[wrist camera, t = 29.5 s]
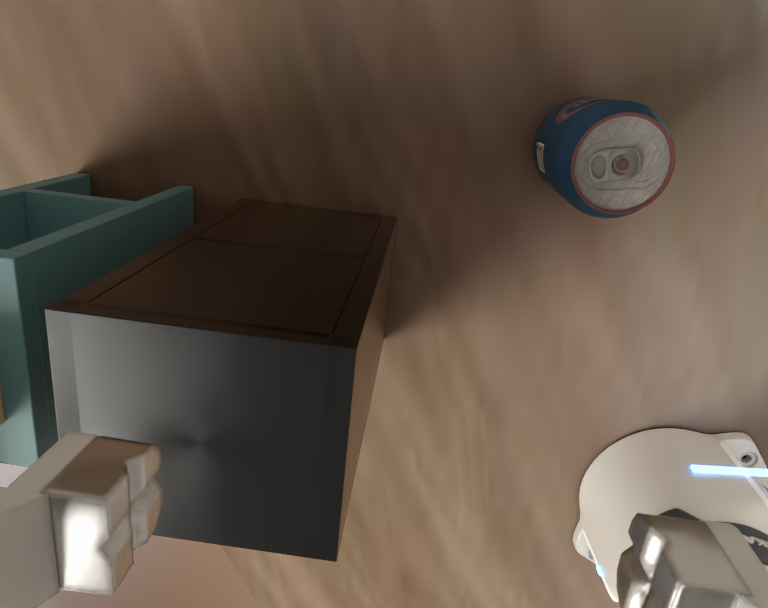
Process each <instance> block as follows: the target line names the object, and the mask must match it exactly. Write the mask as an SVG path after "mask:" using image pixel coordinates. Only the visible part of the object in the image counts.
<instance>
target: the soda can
mask: <svg viewBox="0 0 768 608" xmlns="http://www.w3.org/2000/svg"><path fill="white" fill-rule="evenodd" d="M533 157H534V162H535V166H536V168H537V171H538V173H539V174H540V176H541V177H542V179H543V180H544V181H545V182H546V183H547V184H548V185H549V186H550V187H552V188H553V189H554V190H555V191H556V192H558V193H559V194H560V195H561V196H562V197H563V198H565V199H566V200H567V201H568V202H569V203H570V204H572V205H573V206H574V207H575V208H577V209H578V210H580V211H582V212H583V213H586V214H588V215H591V216H594V217H599V218H617V217H622V216H626V215H629V214H632V213H634V212H636V211H638V210H640V209H642V208H643V207H645V206H647V205H648V204H650V203H651V202H652V201H654V200H655V199H656V198H657V197H658V196H659V195H660V194H661V193H662V192H663V190H664V189H665V187H666V186H667V184H668V182H669V180H670V178H671V176H672V173H673V170H674V165H675V147H674V141H673V137H672V134H671V131H670V129H669V127H668V125H667V124H666V122H665V121H664V120H663V118H662V117H661V116H660V115H659V114H658V113H656V112H655V111H654V110H652V109H651V108H649V107H647V106H645V105H643V104H640V103H637V102H632V101H623V100H609V99H595V98H580V99H574V100H571V101H568V102H566V103H564V104H562V105H560V106H558V107H557V108H555V109H554V110H553V111H552V112H551V113H550V114H549V115H548V116H547V117H546V118H545V119H544V120H543V122H542V123H541V125H540V127H539V129H538V131H537V133H536V136H535V140H534V145H533Z"/></svg>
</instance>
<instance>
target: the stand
mask: <svg viewBox="0 0 768 608" xmlns="http://www.w3.org/2000/svg"><path fill="white" fill-rule="evenodd" d="M192 226H194V198H193V187H191V186H183V185H179V186H176V187H174V188H171V189H168V190H166V191H163V192H160V193H157V194H155V195H152V196H149V197H147V198H144V199H141V200H139V201H136V202H135V201H129V200H121V199H113V198H105V197H96V196H91V182H90V174H83V173H74V174H69V175H65V176H61V177H56V178H52V179H48V180H43V181H39V182H35V183H30V184H26V185H22V186H18V187H13V188H9V189H5V190H0V388H1V395H2V402H3V408H4V415H5V422H4V423H3V424H1V425H0V463H5V464H12V465H20V466H27V467H30V466H31V465H32V464H33V463H34V462H35V461H37V460H38V459H39V458H40V457H41V456H42V455H43V454H44V453H45V452H46V451H47V450H49V449H50V448H51V447H52V446H53V445H54V444H55V443H56V442H57V441H58V431H57V422H56V412H55V403H54V394H53V384H52V375H51V366H50V356H49V347H48V338H47V329H46V319H45V310H44V309H45V308H46V307H48V306H50V305H52V304H53V303H55V302H57V301H59V300H61V299H63V298H65V297H67V296H68V295H70V294H72V293H74V292H76V291H77V290H79V289H81V288H83V287H85V286H86V285H88V284H90V283H92V282H93V281H95V280H97V279H99V278H101V277H102V276H104V275H106V274H108V273H110V272H111V271H113V270H115V269H117V268H118V267H120V266H122V265H124V264H126V263H127V262H129V261H131V260H133V259H135V258H136V257H138V256H140V255H142V254H144V253H145V252H147V251H149V250H151V249H152V248H154V247H156V246H158V245H160V244H161V243H163V242H165V241H167V240H169V239H170V238H172V237H174V236H176V235H177V234H179V233H181V232H183V231H185V230H186V229H188V228H190V227H192Z"/></svg>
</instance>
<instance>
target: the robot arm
mask: <svg viewBox="0 0 768 608" xmlns="http://www.w3.org/2000/svg"><path fill="white" fill-rule="evenodd" d="M745 455H747V456H746V457H745V458H742V457H743V456H745ZM161 466H162V464H161V451H160V448H159V447H158V446H157V445H156V444H150V443H144V442H138V441H132V440H126V439H119V438H113V437H107V436H99V435H94V434H87V433H80V432H71V433H67V434H65V435H64V436H63V437H62V438H61V439H60V440H58V441H57V442H56V443H55V444H54V445H53V446H52V447H51V448H50V449H49V450H47V451H46V452H45V453H44V454H43V455H42V456H41V457H40V458H39V459H38V460H37V461H35V462H34V463H33V464H32V465H31V466H30V467H29V468H28V469H27V470H26V471H25V472H24V473H22V474H21V475H20V476H19V477H18V478H17V479H16V480H15V481H14V482H13V483H11V484H10V485H9V486H8V487H7V488H2V487H0V608H36V607H38V606H39V605H41V604H42V603H44V602H45V601H47V600H48V599H50V598H51V597H53V596H54V595H56V594H57V593H59V589H64V590H72V591H81V592H89V593H97V594H105V595H113V594H114V593H115V591H116V590H117V588H118V587H119V585H120V584H121V582H122V580H123V579H124V577H125V576H126V574H127V573H128V571H129V570H130V568H131V567H132V565H133V564H134V561H133V550H135V549H137V548H139V547H140V546H142V545H144V544H146V543H147V542H148V540H149V538H150V537H151V535H152V533H153V532H154V530H155V527H156V525H157V522H158V519H159V516H160V513H161V507H162V500H163V496H162V486H161V485H160V484H159V482H158V481H157V480H156V478H155V477H154V476H155V474H156V473H157V471H158V470H159V469H160V467H161ZM579 506H580V520H579V522H578V525H577V527H576V529H575V532H574V535H573V544H574V546H575V548H576V550H577V552H578V553H580V554H581V555H582V556H584V557H585V558H587V559H589V560H590V561H592V562H593V563H595V564H596V565H597V566H596V569H597V572H598V574H599V575H600V576H601V577H602V579H603V581H604V584H605V586H606V588H607V591H608V593H609V595H610V597H611V598H612V599H613V601H615V602H619V603H620V606H621V608H768V468H767V466H766V464H765V462H764V460H763V459H762V457H761V455H760V453H759V451H758V449H757V447H756V445H755V444H754V442H753V440H752V439H751V438H750V436H748V435H747V434H745V433H740V432H731V433H720V434H713V435H711V434H703V433H699V432H694V431H690V430H685V429H677V428H659V429H651V430H646V431H642V432H638V433H635V434H632V435H630V436H627V437H625V438H623V439H621V440H619V441H617V442H615V443H614V444H612V445H611V446H609V447H608V448H607V449H605V450H604V451H603V452H602V453H601V454H600V455H599V456H598V457H597V458H596V459H595V460H594V461H593V462H592V464H591V465H590V466H589V468H588V469H587V471H586V473H585V475H584V477H583V480H582V483H581V486H580V492H579Z"/></svg>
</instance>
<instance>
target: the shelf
mask: <svg viewBox="0 0 768 608" xmlns="http://www.w3.org/2000/svg"><path fill="white" fill-rule="evenodd" d="M396 225H397V217H391V216H382V215H374V214H366V213H357V212H349V211H341V210H332V209H324V208H316V207H307V206H299V205H291V204H282V203H274V202H266V201H257V200H256V201H255V200H249V199H240V200H238V201H236V202H235V203H233V204H231V205H229V206H227V207H226V208H224V209H222V210H220V211H219V212H217V213H215V214H213V215H211V216H210V217H208V218H206V219H204V220H202V221H201V222H199V223H197V224H195V225H194V226H192V227H190V228H188V229H186V230H185V231H183V232H181V233H179V234H177V235H176V236H174V237H172V238H170V239H169V240H167V241H165V242H163V243H161V244H160V245H158V246H156V247H154V248H152V249H151V250H149V251H147V252H145V253H144V254H142V255H140V256H138V257H136V258H135V259H133V260H131V261H129V262H127V263H126V264H124V265H122V266H120V267H118V268H117V269H115V270H113V271H111V272H110V273H108V274H106V275H104V276H102V277H101V278H99V279H97V280H95V281H93V282H92V283H90V284H88V285H86V286H85V287H83V288H81V289H79V290H77V291H76V292H74V293H72V294H70V295H68V296H67V297H65V298H63V299H61V300H59V301H57V302H55V303H53V304H52V305H50V306H48V307H46V308H45V309H44V310H45V319H46V329H47V338H48V347H49V356H50V366H51V375H52V384H53V394H54V403H55V412H56V422H57V431H58V440H60V439H61V438H62V437H63V436H64V435H65V434H67V433H71V432H80V433H87V434H94V435H99V436H107V437H113V438H119V439H126V440H132V441H138V442H144V443H150V444H156V445H157V446H158V447H159V448H160V451H161V464H162V466H161V467H160V469H159V470H158V471H157V473H156V474H155V476H154V477H155V478H156V480H157V481H158V482H159V484H160V485H161V486H162V496H163V500H162V507H161V513H160V516H159V519H158V522H157V525H156V527H155V530H154V532H153V533H152V535H157V536H164V537H171V538H178V539H185V540H192V541H198V542H205V543H212V544H218V545H225V546H232V547H239V548H246V549H253V550H259V551H266V552H273V553H280V554H287V555H294V556H300V557H307V558H314V559H321V560H328V561H335V562H336V561H337V557H338V552H339V547H340V542H341V538H342V533H343V528H344V524H345V519H346V514H347V510H348V505H349V500H350V495H351V491H352V486H353V481H354V477H355V472H356V467H357V462H358V458H359V453H360V448H361V444H362V439H363V434H364V430H365V425H366V420H367V415H368V411H369V406H370V401H371V397H372V392H373V387H374V383H375V378H376V373H377V368H378V364H379V359H380V354H381V350H382V345H383V340H384V332H385V323H386V314H387V305H388V297H389V288H390V279H391V270H392V261H393V252H394V243H395V234H396Z"/></svg>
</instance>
